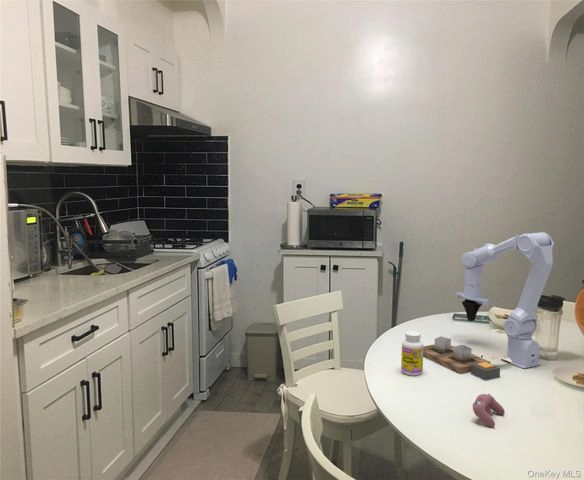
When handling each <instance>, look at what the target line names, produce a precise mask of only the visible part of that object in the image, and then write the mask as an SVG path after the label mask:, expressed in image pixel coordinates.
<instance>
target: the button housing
mask: <svg viewBox="0 0 584 480" xmlns="http://www.w3.org/2000/svg"><path fill="white" fill-rule="evenodd" d="M481 363H483V362H481ZM487 363H488V362H487ZM477 364H478V363H476V364H471V372H470V374H471V375H473V376H475V377H477V378H479V379H482V380H483V381H489V380H493V379H497V378H501V367H499V366H497V365H495V364H493V365H494V368H490V369H483V368H481V367H479V366H477ZM489 364H491V362H490V363H489Z"/></svg>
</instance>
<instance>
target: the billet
mask: <svg viewBox="0 0 584 480" xmlns="http://www.w3.org/2000/svg"><path fill="white" fill-rule="evenodd" d="M471 354H473V353H472V348H471V347H469V346H466V345H464V344H461V345H454V350H453V360H454V361H456V362H458V363H461V364H464V363H469V362H471Z"/></svg>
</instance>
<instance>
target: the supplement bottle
mask: <svg viewBox="0 0 584 480" xmlns="http://www.w3.org/2000/svg"><path fill="white" fill-rule="evenodd" d="M421 337H422V336H421V333H420V332H419V331H414V330H410V331H406V332H405V339H404V340H402V342H401V359H400V360H401V363H400V364H401V367H400V370H401V373H403V374H405V375H406V376H407V375H409V376H413V377H414V376H419V375H422V373H423V368H424V367H423V366H424V357H423V346H424V342H423V341H421V340H420V339H421Z"/></svg>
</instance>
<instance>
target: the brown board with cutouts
mask: <svg viewBox="0 0 584 480" xmlns="http://www.w3.org/2000/svg"><path fill="white" fill-rule="evenodd" d="M434 345H435V343H434V344H430V345H423V358H425V359H428V360H430V361H432V362H434V363H436V364H437V365H439V366H442V367H444V368H446V369H449V370H451V371H453V372H454V373H457V374H459V375H462V374H466V373H467V374H468V373H471V364H476V363H481V362H488V363H490V364H491V361H490V360H487V359H484V358H483V357H480V356H478V355H475V354H473V353H471V362H469V363H464V364H461V363H458V362H456V361H454V360H453V350H454V346H455V345H454V346H453V345H451V353H446V354H439V353H436V352H434Z"/></svg>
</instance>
